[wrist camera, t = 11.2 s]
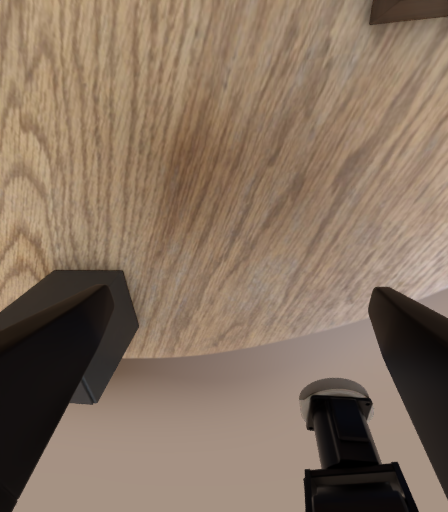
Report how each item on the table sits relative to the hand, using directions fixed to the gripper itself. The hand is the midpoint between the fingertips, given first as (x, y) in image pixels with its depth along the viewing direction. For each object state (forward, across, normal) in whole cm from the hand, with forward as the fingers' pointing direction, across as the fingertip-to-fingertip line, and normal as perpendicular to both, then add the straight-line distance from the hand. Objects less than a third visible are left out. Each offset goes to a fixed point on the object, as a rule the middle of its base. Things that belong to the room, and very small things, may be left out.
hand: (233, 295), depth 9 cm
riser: (+12, +15, +10) cm, 22 cm away
